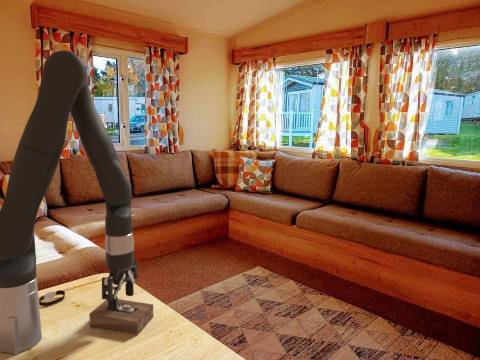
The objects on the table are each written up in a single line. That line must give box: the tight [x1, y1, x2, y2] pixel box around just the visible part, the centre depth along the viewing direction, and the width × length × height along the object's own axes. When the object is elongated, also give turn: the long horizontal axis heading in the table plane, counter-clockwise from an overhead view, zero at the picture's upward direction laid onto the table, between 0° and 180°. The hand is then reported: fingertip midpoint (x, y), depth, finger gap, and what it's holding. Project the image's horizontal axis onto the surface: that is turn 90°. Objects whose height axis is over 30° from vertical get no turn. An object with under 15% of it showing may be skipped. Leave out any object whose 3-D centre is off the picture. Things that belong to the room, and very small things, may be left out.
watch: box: [38, 289, 66, 307], centre depth 111 cm, size 8×5×4 cm, turn 142°
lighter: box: [116, 296, 135, 314], centre depth 101 cm, size 7×2×8 cm, turn 77°
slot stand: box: [89, 298, 155, 336], centre depth 101 cm, size 9×15×4 cm, turn 76°
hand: (121, 302), depth 100 cm, fingers open, 8 cm apart
